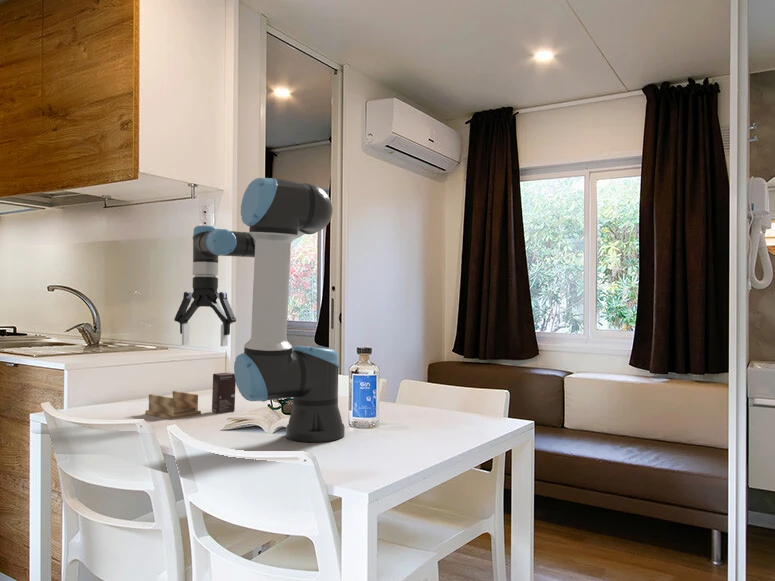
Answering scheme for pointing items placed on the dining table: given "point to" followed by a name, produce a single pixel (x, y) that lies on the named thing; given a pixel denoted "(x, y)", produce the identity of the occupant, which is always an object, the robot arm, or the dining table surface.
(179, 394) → the holder
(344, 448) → the dining table surface
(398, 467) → the dining table surface
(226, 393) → the box
